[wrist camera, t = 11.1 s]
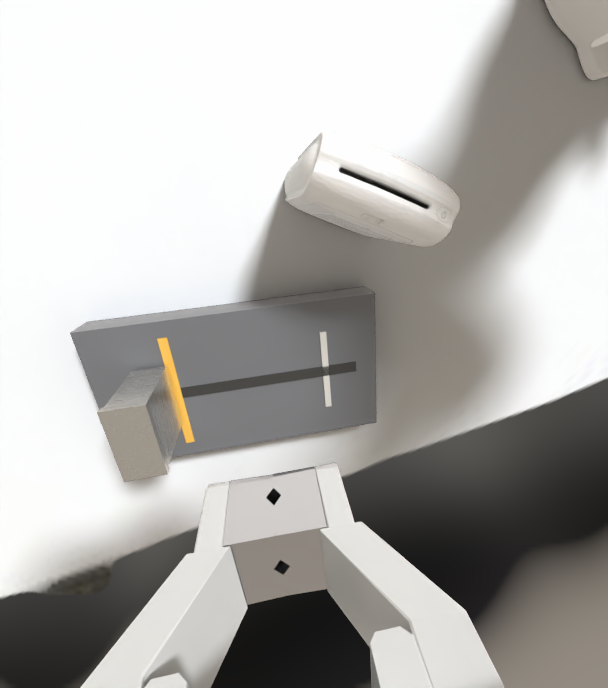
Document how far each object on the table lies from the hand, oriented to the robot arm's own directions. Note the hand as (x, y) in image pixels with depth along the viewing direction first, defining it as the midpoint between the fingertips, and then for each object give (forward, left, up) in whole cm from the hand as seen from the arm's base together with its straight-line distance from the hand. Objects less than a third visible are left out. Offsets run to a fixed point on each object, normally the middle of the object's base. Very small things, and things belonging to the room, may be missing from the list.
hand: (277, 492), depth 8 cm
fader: (+10, +8, -22) cm, 25 cm away
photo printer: (-8, -7, -25) cm, 27 cm away
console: (+3, +8, -25) cm, 27 cm away
